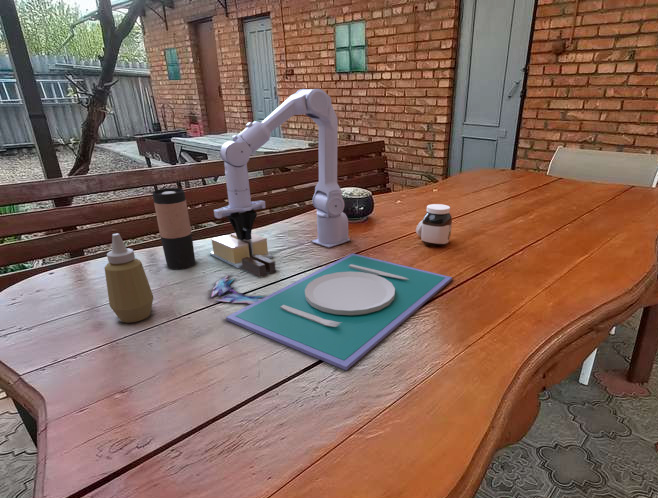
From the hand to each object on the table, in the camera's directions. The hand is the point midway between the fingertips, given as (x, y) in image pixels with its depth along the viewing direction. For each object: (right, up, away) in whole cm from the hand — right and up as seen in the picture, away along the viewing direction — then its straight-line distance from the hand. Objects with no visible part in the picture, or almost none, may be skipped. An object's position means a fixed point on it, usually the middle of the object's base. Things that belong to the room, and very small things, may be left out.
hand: (244, 238), depth 117 cm
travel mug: (-17, -7, -2) cm, 18 cm away
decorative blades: (+2, -15, -18) cm, 23 cm away
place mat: (+30, -16, -20) cm, 39 cm away
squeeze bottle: (-15, -19, -28) cm, 37 cm away
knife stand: (+6, -9, -5) cm, 12 cm away
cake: (-2, -5, +4) cm, 7 cm away
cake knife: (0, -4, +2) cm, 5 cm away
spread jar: (+54, 0, +16) cm, 56 cm away
